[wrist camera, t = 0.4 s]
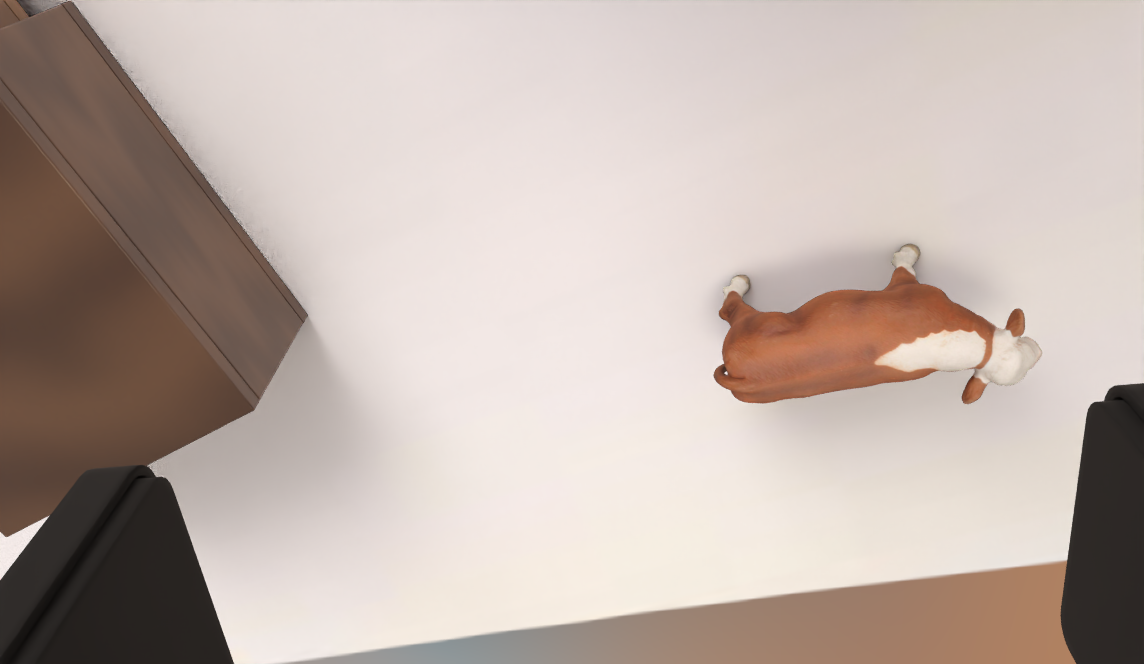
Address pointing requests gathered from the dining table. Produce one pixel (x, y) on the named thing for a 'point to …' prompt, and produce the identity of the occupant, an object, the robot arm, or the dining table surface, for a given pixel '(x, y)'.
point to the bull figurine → (866, 341)
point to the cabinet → (113, 277)
